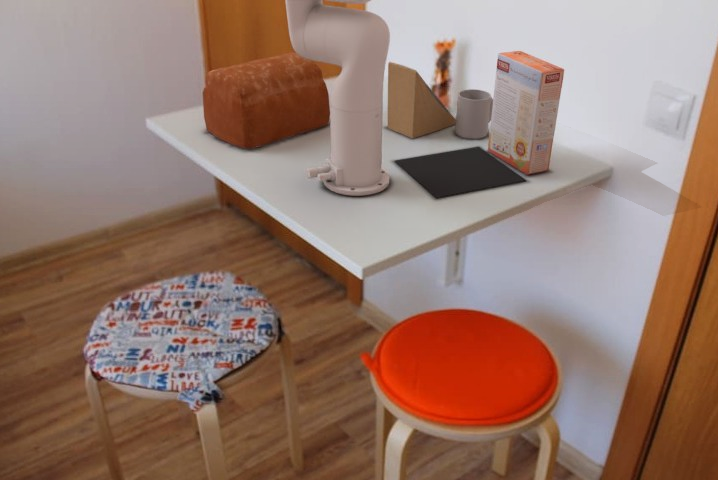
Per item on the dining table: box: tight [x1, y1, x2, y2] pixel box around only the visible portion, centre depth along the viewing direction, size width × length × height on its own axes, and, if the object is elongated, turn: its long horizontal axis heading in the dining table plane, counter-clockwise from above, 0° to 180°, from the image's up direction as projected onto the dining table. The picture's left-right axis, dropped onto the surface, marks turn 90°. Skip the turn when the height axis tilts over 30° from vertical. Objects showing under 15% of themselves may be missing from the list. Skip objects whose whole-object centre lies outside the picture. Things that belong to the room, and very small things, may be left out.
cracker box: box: [487, 50, 565, 175], centre depth 144 cm, size 14×6×21 cm, turn 30°
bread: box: [202, 51, 330, 149], centre depth 156 cm, size 17×24×15 cm
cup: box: [454, 88, 493, 140], centre depth 160 cm, size 7×10×9 cm
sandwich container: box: [387, 61, 456, 139], centre depth 161 cm, size 9×15×15 cm, turn 135°
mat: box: [394, 146, 527, 199], centre depth 144 cm, size 20×18×1 cm
